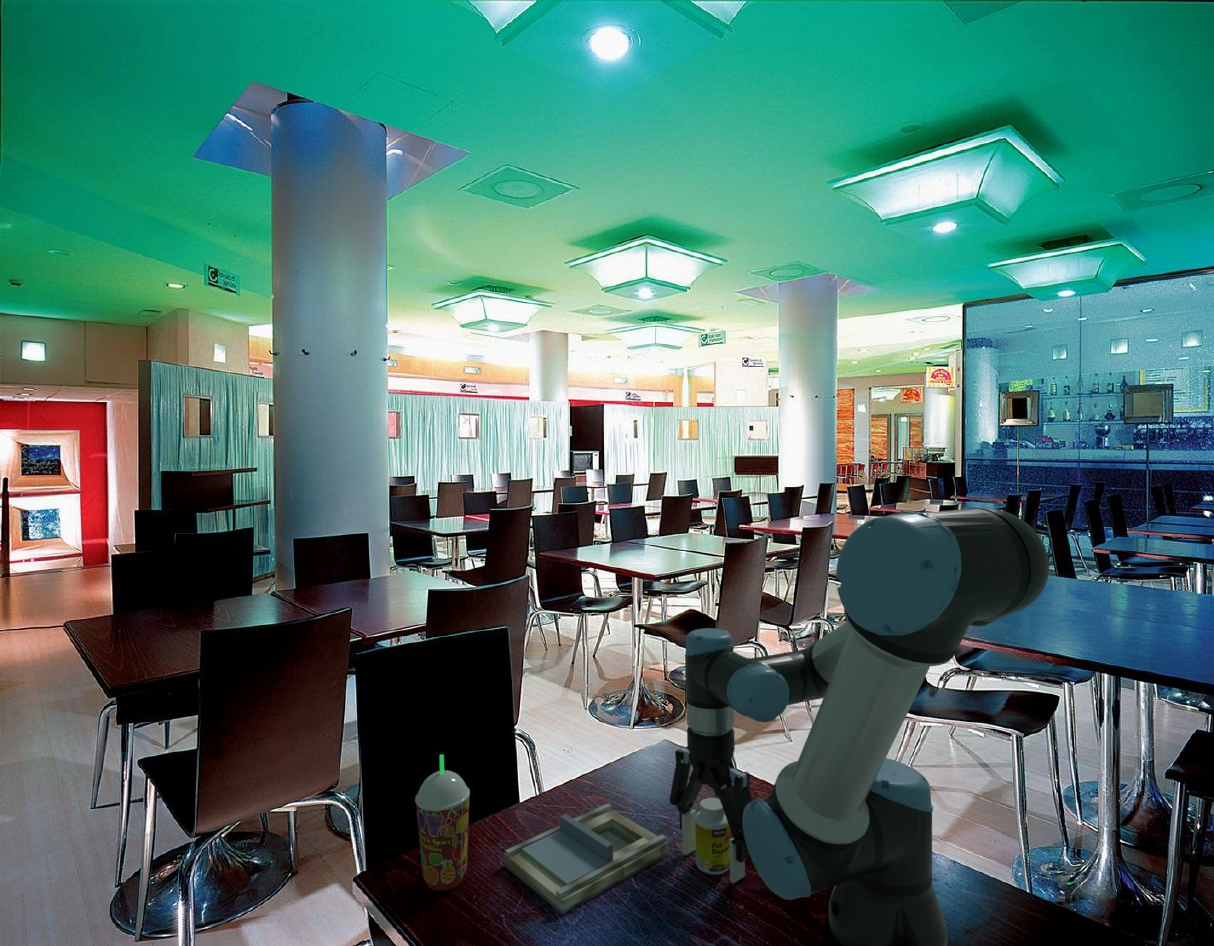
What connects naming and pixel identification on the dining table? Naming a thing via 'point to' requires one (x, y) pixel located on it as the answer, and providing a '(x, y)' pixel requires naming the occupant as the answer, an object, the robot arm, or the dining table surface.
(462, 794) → the smoothie
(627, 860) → the sliding lid box
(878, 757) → the robot arm
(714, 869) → the supplement bottle
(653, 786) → the dining table surface
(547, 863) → the cover
